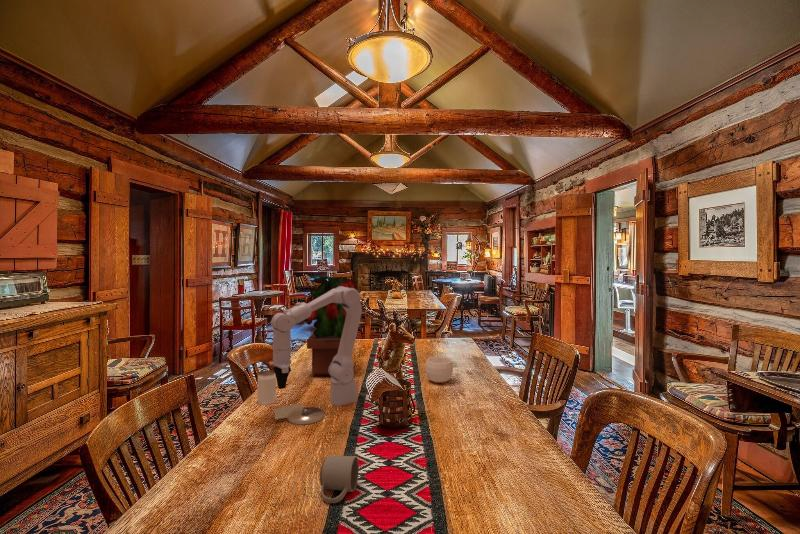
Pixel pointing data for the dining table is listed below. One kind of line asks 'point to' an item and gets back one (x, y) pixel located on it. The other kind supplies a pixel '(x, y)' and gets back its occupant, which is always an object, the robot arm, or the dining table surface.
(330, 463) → the ceramic mug
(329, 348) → the potted plant
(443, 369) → the cup
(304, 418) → the dial
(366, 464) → the dining table surface
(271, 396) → the can
